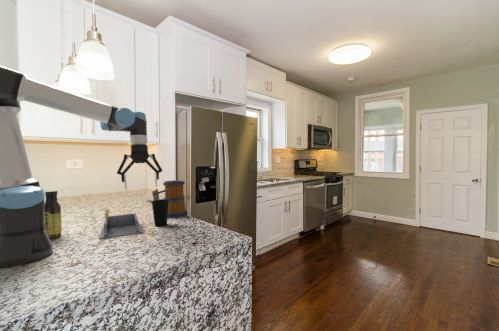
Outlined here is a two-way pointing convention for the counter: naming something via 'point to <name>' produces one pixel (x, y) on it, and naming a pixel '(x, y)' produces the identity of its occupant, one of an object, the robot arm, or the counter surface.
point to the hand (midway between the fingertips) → (141, 187)
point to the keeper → (120, 225)
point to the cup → (160, 212)
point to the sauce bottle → (52, 215)
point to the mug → (173, 198)
